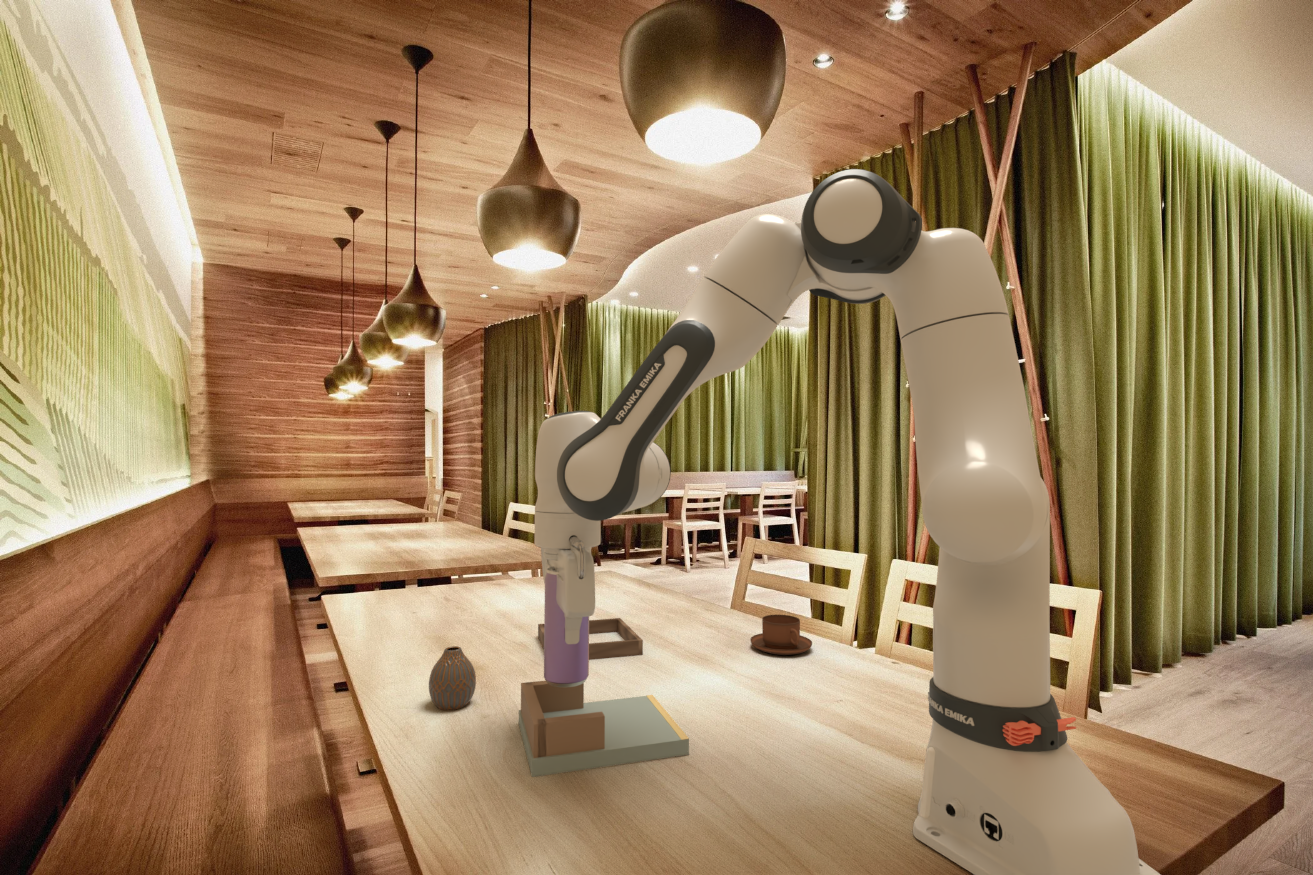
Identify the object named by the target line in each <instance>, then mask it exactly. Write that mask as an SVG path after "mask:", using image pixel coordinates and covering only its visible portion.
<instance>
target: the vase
mask: <svg viewBox="0 0 1313 875" xmlns="http://www.w3.org/2000/svg"><path fill="white" fill-rule="evenodd" d="M476 675H477V674H476V671H475V668H474V665H473V664H472V662H471V661H470V660H469V658H468V657H467V656H466V655H465V653H464V651H463V649H462V647H461V646H454V645H453V646H448V647H445V648H444V650H443V653H442V655H441V656H440V658H439V659H438V660H437V661H436V663H435V664H434V666H433V667H432V669H431V671H430V675H429V679H428V693H429V696H430V699H431V702H432V703H433V705H434V706H436V707H437V708H438V709H439V710H443V711H455V710H460V709H462V708H464V707H465V706H467V705H468V704H469V703H470V701H471V700H472V698H473V696H474V694H475V690H476V684H477V676H476Z"/></svg>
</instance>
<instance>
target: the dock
mask: <svg viewBox="0 0 1313 875" xmlns="http://www.w3.org/2000/svg"><path fill="white" fill-rule="evenodd" d="M584 687H585V682H584V683H583V684H581V685H578V686H574V687H555V686H551V685H549V684H548V683H547V682H546V680H537V681H528V682H521V683H520V709H518V727H519V730H520V735H521V738H522V739H521V740H522V742H523V746H524V751H525V755H526V759H527V762H528V767H529V770H530V775H531V777H532V778H534V777H543V776H549V775H556V774H561V773H571V772H576V771H583V770H591V769H597V768H605V767H612V766H619V765H624V764H625V765H626V764H633V763H640V761H641V762H646V761H647V762H648V761H655V760H663V759H668V758H674V757H675V756H676V757H681V756H688V755H690V738H689V737H688V735H686V733H685V732H684V731H683V729H682V728H681V727H680V726H679V725H678V723H677V722H676V721H675V720H674V719H673V718H672V716H671V715H670V714H669V713H668V712H667V710H666V709H665V708H664V707H663V706H662V704H661V703H660V702H659V701H658V700H657V699H656V697H655V695H653V694H647V695H643V696H635V697H634V696H633V697H624V698H623V697H622V698H616V699H614V698H613V699H606V700H599V701H598V700H597V701H590V702H588V701H587V702H585V701H584V698H585V697H584V695H585V694H584V691H585V690H584Z"/></svg>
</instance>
